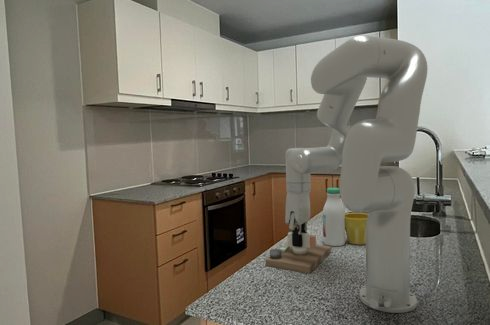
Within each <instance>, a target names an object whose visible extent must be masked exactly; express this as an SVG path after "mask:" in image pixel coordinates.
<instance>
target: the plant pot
mask: <svg viewBox="0 0 490 325" xmlns="http://www.w3.org/2000/svg"><path fill="white" fill-rule="evenodd" d="M368 214H369V213H355V212H347V213H345V235H346V237H347V238H346V239H347V241H348V243H349V244H352V245H360V246H361V245H366V221H367V217H368Z"/></svg>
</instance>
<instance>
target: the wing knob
mask: <svg viewBox="0 0 490 325" xmlns="http://www.w3.org/2000/svg"><path fill="white" fill-rule="evenodd" d="M301 234H302V244H303V246H302V247H296V246H293V245H292V233H291V231H289V232H288V233H287V244H288V246H290V247H293V253H294V254H299V255H301V254H306V253H307V248H310V247H311V246H316V245H317V237H316V235H313V234H312V233H310V232H307V233H301Z"/></svg>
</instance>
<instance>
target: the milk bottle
mask: <svg viewBox="0 0 490 325" xmlns="http://www.w3.org/2000/svg"><path fill="white" fill-rule="evenodd" d="M326 195H327V196H326V197H327V198H326V200H325V203H324V206H323V209H322V242H323V244H324V245H325V246H329V247H340V246H344V245H345V243H346V230H345V214H346V213H345V208H344V206H343V205H344V204H343V202H342V200H341V196H340V187H328V188H326Z"/></svg>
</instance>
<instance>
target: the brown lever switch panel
mask: <svg viewBox="0 0 490 325" xmlns="http://www.w3.org/2000/svg"><path fill="white" fill-rule="evenodd" d="M331 253H332V246H329V245H320V244H316V246H311V247H310V248H307V253H306V254H301V255H299V254H294V253H293V247H290V246H288V243H287V244H284V245H283V246H281V247H280V248H273V249H271V250H269V256H268V257H267V258H265V266H266V267H270V268H274V269H275V268H276V269H282V270H286V271H291V272H298V273H304V274H311V272H313V271H314V270H315V269H316V268H317V267H318V266H319V265H320V264H321V263H322V262H324V260H325V259H327V257H328V256H329V255H331Z"/></svg>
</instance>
